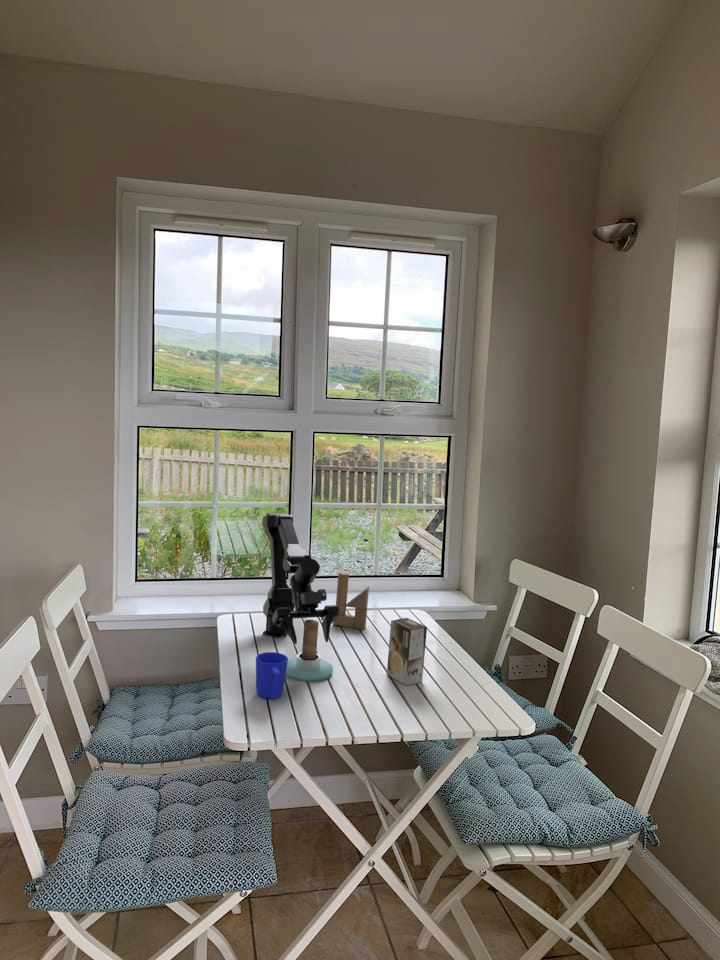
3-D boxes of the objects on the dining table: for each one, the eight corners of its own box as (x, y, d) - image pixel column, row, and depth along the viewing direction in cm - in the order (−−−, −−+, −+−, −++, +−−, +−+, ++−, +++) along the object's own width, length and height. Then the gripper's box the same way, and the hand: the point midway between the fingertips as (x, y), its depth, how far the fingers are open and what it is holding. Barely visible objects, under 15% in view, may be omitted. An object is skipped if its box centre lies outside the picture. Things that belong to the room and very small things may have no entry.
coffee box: (423, 682, 210) (428, 626, 208) (406, 686, 206) (411, 630, 204) (402, 670, 217) (407, 617, 215) (385, 674, 213) (390, 620, 211)
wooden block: (363, 630, 250) (368, 577, 247) (332, 625, 252) (336, 573, 249) (365, 626, 253) (370, 575, 251) (335, 622, 255) (339, 571, 253)
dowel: (298, 665, 210) (301, 620, 209) (310, 663, 213) (313, 619, 211) (305, 670, 207) (309, 625, 206) (317, 668, 210) (321, 623, 208)
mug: (258, 709, 184) (260, 670, 183) (251, 688, 196) (253, 652, 194) (290, 707, 187) (293, 669, 185) (282, 687, 198) (284, 651, 197)
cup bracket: (273, 673, 207) (274, 657, 206) (299, 658, 219) (300, 643, 219) (316, 686, 201) (318, 670, 200) (341, 670, 213) (342, 655, 213)
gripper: (278, 579, 207) (286, 631, 198) (340, 578, 214) (352, 627, 205) (268, 598, 215) (276, 649, 206) (329, 596, 222) (339, 645, 214)
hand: (311, 642), depth 208 cm, fingers open, 9 cm apart
